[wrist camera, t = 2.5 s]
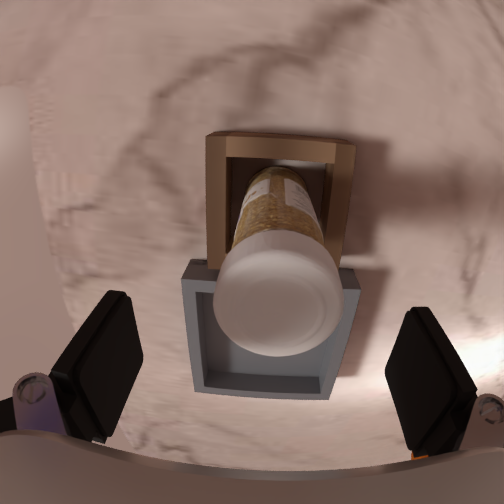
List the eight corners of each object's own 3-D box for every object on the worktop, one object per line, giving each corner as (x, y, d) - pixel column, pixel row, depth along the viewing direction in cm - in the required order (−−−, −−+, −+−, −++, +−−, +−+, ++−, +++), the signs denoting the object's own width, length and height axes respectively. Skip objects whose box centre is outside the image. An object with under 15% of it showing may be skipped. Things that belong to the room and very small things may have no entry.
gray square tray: (353, 269, 25) (361, 289, 22) (325, 377, 30) (328, 399, 28) (190, 259, 25) (181, 278, 22) (200, 370, 31) (194, 391, 28)
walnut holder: (345, 140, 20) (356, 145, 17) (330, 256, 24) (337, 276, 22) (214, 131, 21) (205, 136, 18) (215, 249, 25) (207, 268, 22)
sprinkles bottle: (238, 172, 22) (192, 266, 10) (302, 159, 21) (341, 241, 9) (253, 231, 24) (231, 367, 12) (313, 220, 23) (349, 351, 11)
